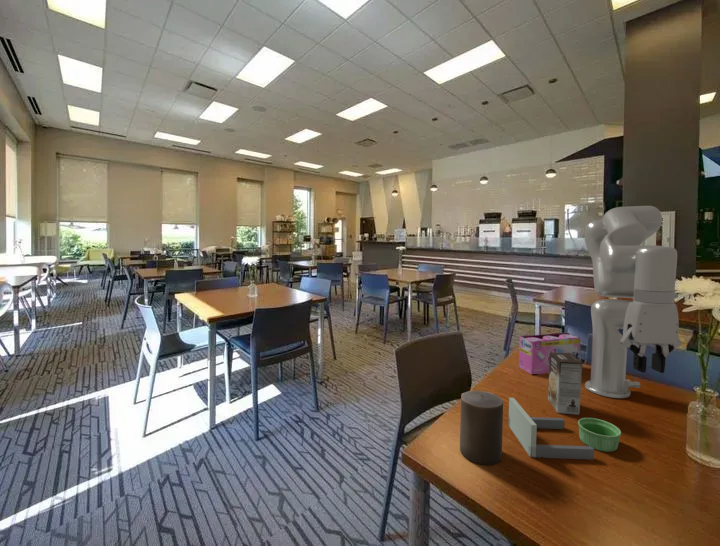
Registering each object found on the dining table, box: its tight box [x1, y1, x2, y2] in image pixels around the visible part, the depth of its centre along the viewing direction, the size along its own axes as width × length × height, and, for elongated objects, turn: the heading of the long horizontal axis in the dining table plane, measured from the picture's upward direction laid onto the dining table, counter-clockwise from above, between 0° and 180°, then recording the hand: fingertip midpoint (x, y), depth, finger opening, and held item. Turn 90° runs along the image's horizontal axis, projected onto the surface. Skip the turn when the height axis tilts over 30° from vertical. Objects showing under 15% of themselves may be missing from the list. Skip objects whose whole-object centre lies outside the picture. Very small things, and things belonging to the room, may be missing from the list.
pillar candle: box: [459, 390, 504, 466], centre depth 82 cm, size 10×10×15 cm
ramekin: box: [577, 417, 622, 453], centre depth 86 cm, size 9×9×4 cm
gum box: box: [518, 332, 581, 375], centre depth 136 cm, size 24×8×14 cm, turn 103°
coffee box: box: [547, 352, 583, 416], centre depth 104 cm, size 9×6×16 cm
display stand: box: [508, 397, 595, 460], centre depth 87 cm, size 14×14×8 cm
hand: (648, 370), depth 84 cm, fingers open, 3 cm apart
